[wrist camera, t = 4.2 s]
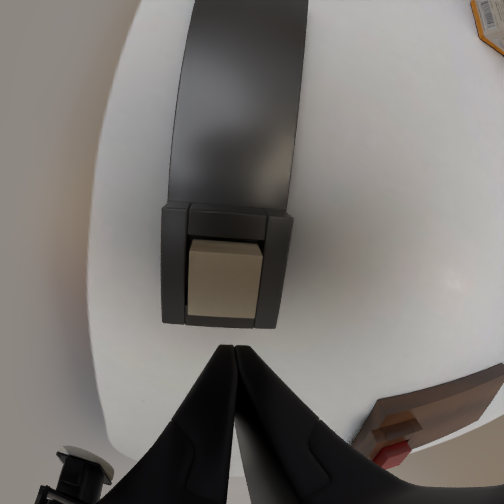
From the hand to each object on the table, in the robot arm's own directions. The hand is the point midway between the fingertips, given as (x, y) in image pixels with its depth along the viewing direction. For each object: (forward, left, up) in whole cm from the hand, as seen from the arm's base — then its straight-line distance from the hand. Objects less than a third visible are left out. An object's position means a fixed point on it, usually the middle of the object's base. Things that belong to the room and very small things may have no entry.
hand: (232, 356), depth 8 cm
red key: (-19, -17, -6) cm, 26 cm away
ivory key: (0, 0, -6) cm, 6 cm away
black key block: (+6, 0, -10) cm, 11 cm away
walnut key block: (-19, -27, -10) cm, 35 cm away
